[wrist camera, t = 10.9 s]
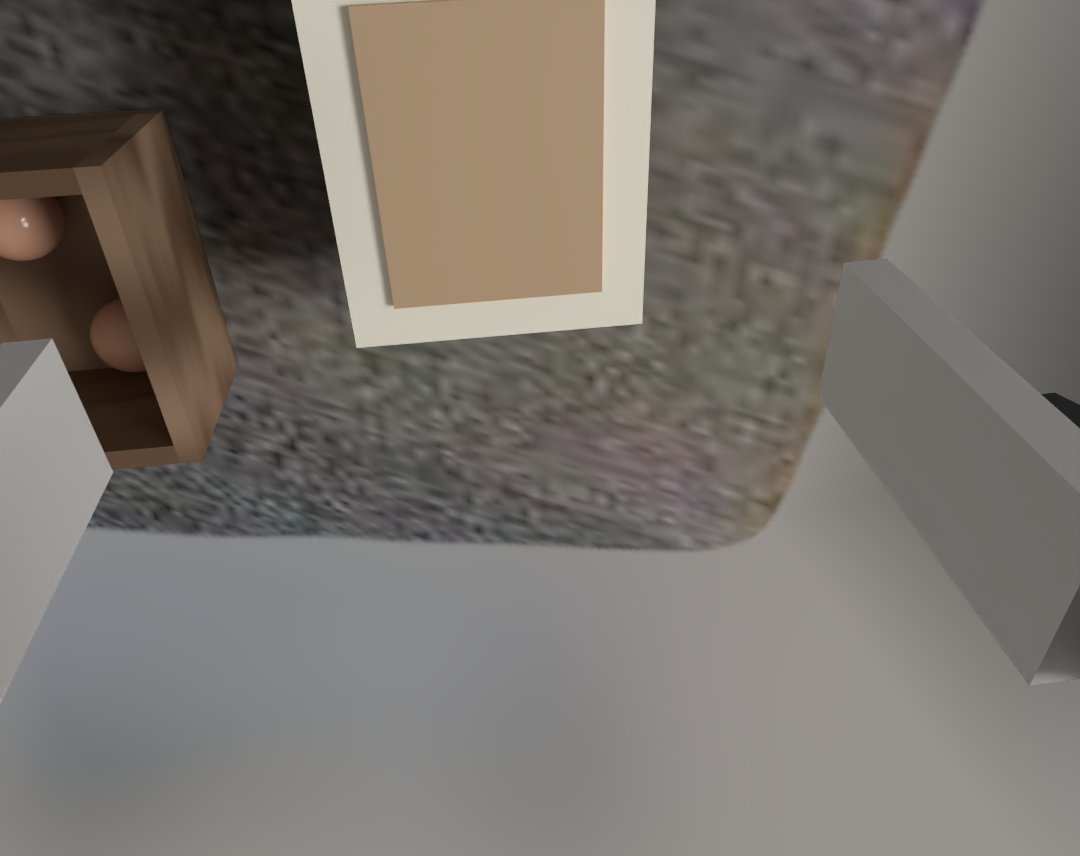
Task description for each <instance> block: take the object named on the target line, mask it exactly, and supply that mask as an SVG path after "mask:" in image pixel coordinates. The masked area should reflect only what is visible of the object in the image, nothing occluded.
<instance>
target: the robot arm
mask: <svg viewBox="0 0 1080 856" xmlns="http://www.w3.org/2000/svg"><path fill="white" fill-rule="evenodd" d="M819 398H820V399H821V400H822V402H823V403H824V405H825V406H826V407H827V409H828V410H829V411H830V413H831V414H832V416H833V417H834V418H835V420H836V421H837V422H838V424H839V425H840V426H841V428H842V429H843V431H844V432H845V433H846V435H847V436H848V437H849V439H850V440H851V442H852V443H853V444H854V446H855V447H856V448H857V450H858V451H859V453H860V454H861V455H862V457H863V458H864V459H865V461H866V462H867V463H868V465H869V466H870V468H871V469H872V470H873V472H874V473H875V475H876V476H877V477H878V479H879V480H880V481H881V483H882V484H883V485H884V487H885V488H886V490H887V491H888V492H889V494H890V495H891V497H892V498H893V499H894V501H895V502H896V503H897V505H898V506H899V507H900V509H901V510H902V512H903V513H904V514H905V516H906V517H907V518H908V520H909V521H910V522H911V524H912V525H913V527H914V528H915V529H916V531H917V532H918V533H919V535H920V536H921V538H922V539H923V540H924V542H925V543H926V544H927V546H928V547H929V549H930V550H931V551H932V553H933V554H934V555H935V557H936V558H937V560H938V561H939V562H940V564H941V565H942V566H943V568H944V569H945V571H946V572H947V573H948V575H949V576H950V577H951V579H952V580H953V581H954V583H955V584H956V586H957V587H958V588H959V590H960V591H961V593H962V594H963V595H964V597H965V598H966V599H967V601H968V602H969V604H970V605H971V606H972V608H973V609H974V610H975V612H976V613H977V614H978V616H979V617H980V618H981V620H982V621H983V623H984V624H985V625H986V627H987V628H988V630H989V631H990V632H991V634H992V635H993V636H994V638H995V639H996V641H997V642H998V643H999V645H1000V646H1001V647H1002V649H1003V650H1004V652H1005V653H1006V654H1007V656H1008V657H1009V658H1010V660H1011V661H1012V663H1013V664H1014V665H1015V667H1016V668H1017V669H1018V671H1019V672H1020V673H1021V675H1022V676H1023V678H1024V679H1025V680H1026V682H1027V683H1028V684H1029V686H1031V685H1039V684H1045V683H1052V682H1060V681H1068V680H1075V679H1080V405H1078V404H1077V403H1075V402H1072V401H1071V400H1068V399H1066V398H1064V397H1062V396H1060V395H1058V394H1056V393H1048V394H1040V393H1039V392H1038V391H1037V390H1035V389H1034V388H1033V387H1032V386H1031V385H1030V384H1029V383H1027V382H1026V381H1025V380H1024V379H1023V378H1022V377H1020V375H1018V374H1017V373H1016V372H1015V371H1014V370H1013V369H1012V368H1010V367H1009V366H1008V365H1007V364H1006V363H1005V362H1004V361H1002V360H1001V359H1000V358H999V357H998V356H997V355H996V354H994V353H993V352H992V351H991V350H990V349H989V348H988V347H987V346H985V345H984V344H983V343H982V342H981V341H980V340H979V339H977V338H976V337H975V336H974V335H973V334H972V333H971V332H970V331H968V330H967V329H966V328H965V327H963V325H962V324H960V323H959V322H958V321H957V320H956V319H955V318H953V317H952V316H951V315H950V314H949V313H948V312H947V311H945V310H944V309H943V308H942V307H941V306H940V305H939V304H938V303H937V302H935V301H934V300H933V299H932V298H931V297H930V296H929V295H927V294H926V293H925V292H924V291H923V290H922V289H920V288H919V287H918V286H917V285H916V284H915V283H914V282H913V281H912V280H910V279H909V278H908V277H907V276H906V275H905V274H904V273H902V272H901V271H900V270H899V269H898V268H897V267H896V266H894V265H893V264H892V263H891V262H890V261H889V260H888V259H879V260H868V261H858V262H847V263H844V265H843V270H842V275H841V281H840V286H839V291H838V296H837V302H836V307H835V312H834V318H833V323H832V328H831V333H830V339H829V344H828V349H827V354H826V360H825V365H824V370H823V375H822V381H821V386H820V391H819ZM112 474H113V471H112V468H111V466H110V464H109V462H108V460H107V457H106V455H105V453H104V451H103V449H102V447H101V444H100V442H99V440H98V438H97V436H96V433H95V431H94V429H93V427H92V425H91V422H90V420H89V418H88V416H87V414H86V411H85V409H84V407H83V405H82V403H81V400H80V398H79V396H78V394H77V392H76V389H75V387H74V385H73V383H72V381H71V378H70V376H69V374H68V372H67V370H66V367H65V365H64V363H63V361H62V359H61V356H60V354H59V352H58V350H57V348H56V345H55V343H54V341H53V339H52V338H49V339H39V340H28V341H18V342H7V343H2V344H1V345H0V704H1V701H2V699H3V697H4V695H5V693H6V691H7V689H8V687H9V685H10V683H11V681H12V679H13V677H14V675H15V673H16V671H17V669H18V667H19V664H20V662H21V660H22V658H23V656H24V654H25V652H26V650H27V648H28V646H29V644H30V641H31V640H32V638H33V636H34V634H35V632H36V630H37V628H38V625H39V623H40V621H41V619H42V617H43V615H44V613H45V611H46V609H47V607H48V605H49V603H50V601H51V599H52V596H53V595H54V593H55V591H56V588H57V586H58V584H59V582H60V580H61V578H62V576H63V574H64V572H65V570H66V568H67V566H68V564H69V562H70V560H71V558H72V556H73V554H74V552H75V549H76V547H77V545H78V543H79V541H80V539H81V537H82V535H83V533H84V531H85V529H86V527H87V525H88V523H89V521H90V519H91V517H92V515H93V513H94V510H95V508H96V506H97V504H98V502H99V500H100V498H101V496H102V494H103V492H104V490H105V488H106V486H107V484H108V482H109V480H110V478H111V476H112Z"/></svg>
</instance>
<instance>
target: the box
mask: <svg viewBox="0 0 1080 856" xmlns="http://www.w3.org/2000/svg"><path fill="white" fill-rule="evenodd" d="M54 196H55V198H56V199H57V200H58V202H59V204H60V206H61V208H62V210H63V213H64V217H65V231H64V234H63V237H62V239H61V241H60V243H59V244H58V246H57V247H56V248H55V249H54V250H53V251H52V252H50V253H49V254H47V255H45V256H43V257H41V258H38V259H35V260H29V261H16V260H10V259H6V258H3V257H0V345H1V344H2V343H7V342H18V341H28V340H39V339H49V338H52V339H53V341H54V343H55V345H56V348H57V350H58V352H59V354H60V356H61V359H62V361H63V363H64V365H65V367H66V370H67V372H68V374H69V376H70V378H71V381H72V383H73V385H74V387H75V389H76V392H77V394H78V396H79V398H80V400H81V403H82V405H83V407H84V409H85V411H86V414H87V416H88V418H89V420H90V422H91V425H92V427H93V429H94V431H95V433H96V436H97V438H98V440H99V442H100V444H101V447H102V449H103V451H104V453H105V455H106V457H107V460H108V462H109V464H110V466H111V468H112V469H123V468H134V467H144V466H155V465H166V464H177V463H187V462H198V461H202V460H203V457H204V455H205V452H206V449H207V447H208V444H209V442H210V439H211V436H212V434H213V431H214V428H215V426H216V423H217V420H218V418H219V415H220V413H221V410H222V407H223V405H224V402H225V399H226V397H227V394H228V392H229V389H230V386H231V384H232V381H233V378H234V376H235V373H236V370H237V368H238V365H237V362H236V358H235V355H234V351H233V348H232V344H231V341H230V337H229V334H228V330H227V327H226V324H225V320H224V317H223V313H222V310H221V306H220V303H219V299H218V296H217V292H216V289H215V285H214V282H213V278H212V275H211V271H210V268H209V264H208V261H207V257H206V254H205V250H204V247H203V243H202V240H201V236H200V233H199V229H198V226H197V222H196V219H195V215H194V212H193V209H192V205H191V202H190V198H189V195H188V191H187V188H186V184H185V181H184V177H183V174H182V170H181V167H180V163H179V160H178V156H177V153H176V149H175V146H174V142H173V139H172V135H171V132H170V128H169V125H168V121H167V118H166V114H165V111H164V108H162V109H145V110H129V111H113V112H96V113H80V114H64V115H48V116H31V117H15V118H0V200H10V199H24V198H39V197H54ZM119 298H120V299H121V302H122V304H123V307H124V310H125V313H126V315H127V318H128V321H129V324H130V327H131V329H132V332H133V335H134V338H135V340H136V343H137V346H138V349H139V351H140V354H141V357H142V360H143V362H144V365H145V368H146V371H144V372H138V373H131V372H124V371H120V370H117V369H115V368H113V367H111V366H109V365H108V364H106V363H105V362H104V361H103V360H102V359H101V358H100V357H99V356H98V355H97V354H96V352H95V350H94V348H93V346H92V343H91V340H90V326H91V323H92V320H93V318H94V316H95V314H96V313H97V312H98V310H99V309H100V308H101V307H103V306H104V305H105V304H107V303H109V302H110V301H113V300H115V299H119Z"/></svg>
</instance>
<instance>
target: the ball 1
mask: <svg viewBox="0 0 1080 856" xmlns="http://www.w3.org/2000/svg"><path fill="white" fill-rule="evenodd" d="M64 231H65V217H64V213H63V210H62V208H61V206H60V204H59V202H58V200H57V199H56V198H55V196H54V197H39V198H24V199H10V200H0V257H3V258H6V259H10V260H16V261H29V260H35V259H38V258H41V257H43V256H45V255H47V254H49V253H50V252H52V251H53V250H54V249H55V248H56V247H57V246H58V244H59V243H60V241H61V239H62V237H63V234H64Z"/></svg>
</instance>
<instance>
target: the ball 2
mask: <svg viewBox="0 0 1080 856" xmlns="http://www.w3.org/2000/svg"><path fill="white" fill-rule="evenodd" d="M90 340H91V343H92V346H93V348H94V350H95V352H96V354H97V355H98V356H99V357H100V358H101V359H102V360H103V361H104V362H105V363H106V364H108V365H109V366H111V367H113V368H115V369H117V370H120V371H124V372H131V373H138V372H144V371H146V368H145V365H144V362H143V360H142V357H141V354H140V351H139V349H138V346H137V343H136V340H135V338H134V335H133V332H132V329H131V327H130V324H129V321H128V318H127V315H126V313H125V310H124V307H123V304H122V302H121V299H120V298H119V299H115V300H113V301H110V302H109V303H107V304H105V305H104V306H103V307H101V308H100V309H99V310H98V312H97V313H96V314H95V316H94V318H93V320H92V323H91V326H90Z"/></svg>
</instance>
